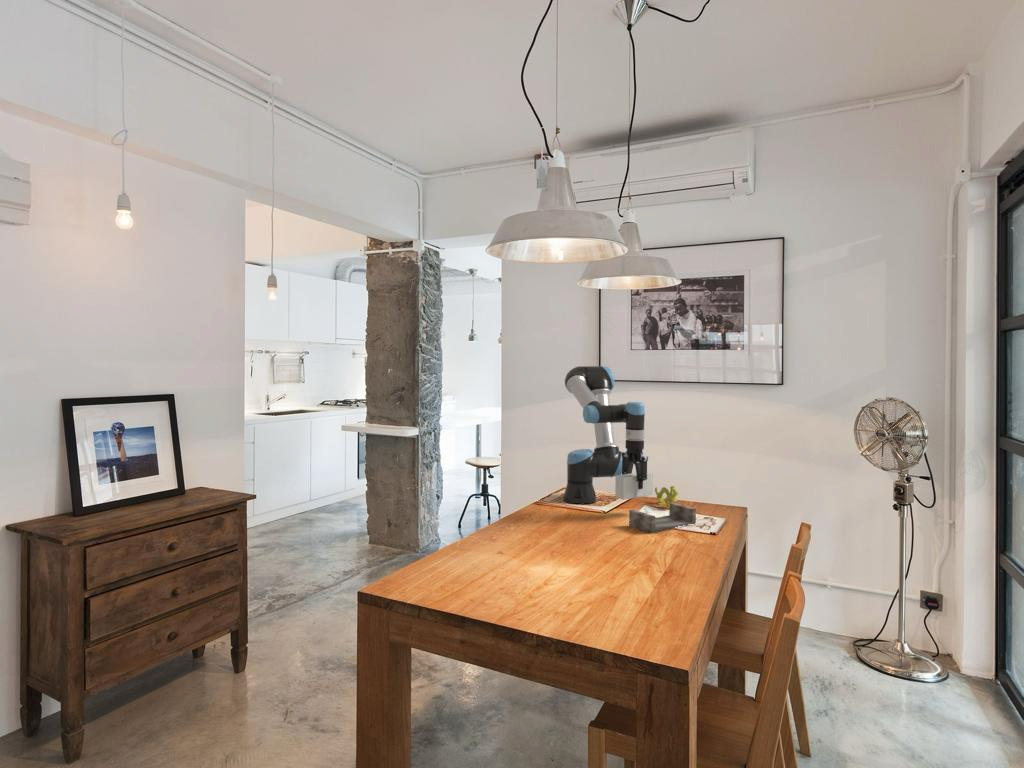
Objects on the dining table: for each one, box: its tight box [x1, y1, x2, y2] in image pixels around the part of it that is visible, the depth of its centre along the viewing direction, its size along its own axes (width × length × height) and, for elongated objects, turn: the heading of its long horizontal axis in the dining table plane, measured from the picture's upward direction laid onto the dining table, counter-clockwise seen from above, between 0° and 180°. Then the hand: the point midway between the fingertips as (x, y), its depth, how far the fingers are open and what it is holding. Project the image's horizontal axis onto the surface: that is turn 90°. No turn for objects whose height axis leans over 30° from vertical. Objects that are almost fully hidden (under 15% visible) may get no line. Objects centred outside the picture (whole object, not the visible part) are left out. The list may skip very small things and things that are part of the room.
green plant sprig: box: [654, 485, 679, 510], centre depth 266 cm, size 18×5×10 cm, turn 19°
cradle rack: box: [628, 502, 697, 534], centre depth 235 cm, size 12×24×6 cm, turn 122°
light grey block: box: [614, 471, 654, 500], centre depth 248 cm, size 5×16×9 cm, turn 122°
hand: (633, 494), depth 249 cm, fingers closed on light grey block, 5 cm apart
